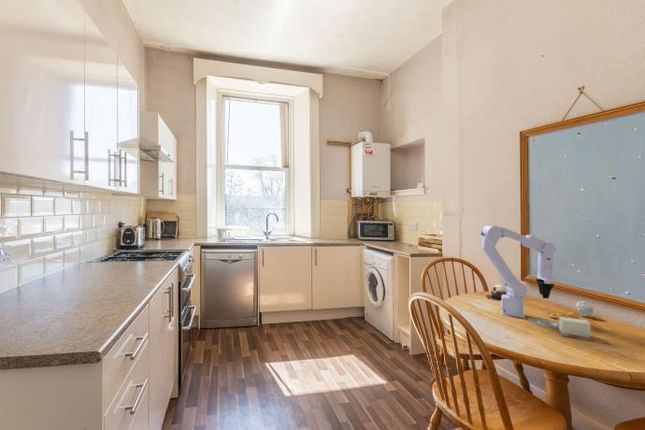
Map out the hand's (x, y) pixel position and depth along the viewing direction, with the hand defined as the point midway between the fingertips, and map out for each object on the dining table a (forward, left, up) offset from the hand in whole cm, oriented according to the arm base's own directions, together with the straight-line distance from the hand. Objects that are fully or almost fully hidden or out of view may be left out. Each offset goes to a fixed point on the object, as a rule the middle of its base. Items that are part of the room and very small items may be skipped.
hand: (544, 296), depth 159 cm
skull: (-18, +28, -10) cm, 34 cm away
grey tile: (0, -12, -9) cm, 15 cm away
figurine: (+13, 0, -9) cm, 16 cm away
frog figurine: (+18, +10, -10) cm, 23 cm away
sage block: (+7, -23, -9) cm, 26 cm away
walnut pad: (+7, -23, -9) cm, 26 cm away
